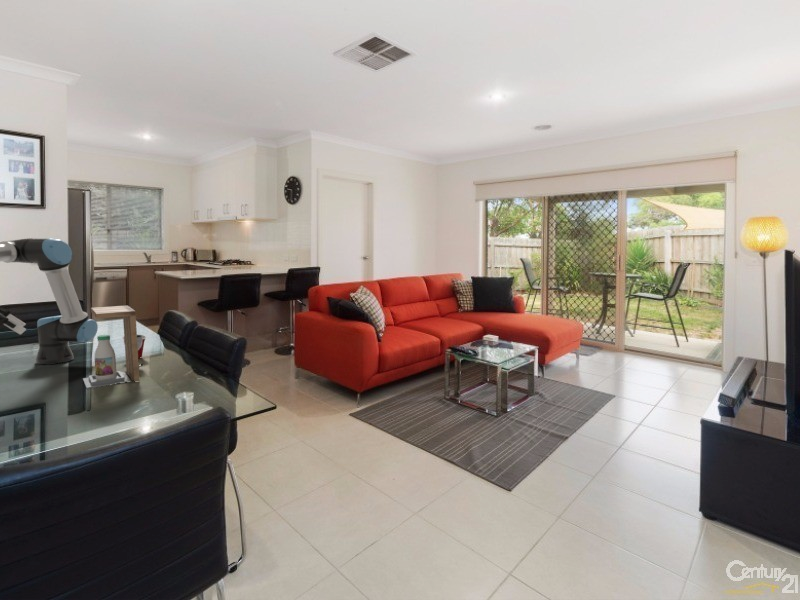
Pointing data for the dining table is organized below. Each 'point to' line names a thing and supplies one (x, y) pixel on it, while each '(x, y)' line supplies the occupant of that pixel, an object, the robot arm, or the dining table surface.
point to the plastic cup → (141, 347)
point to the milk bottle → (105, 359)
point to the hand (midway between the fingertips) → (23, 329)
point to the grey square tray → (93, 383)
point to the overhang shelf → (129, 334)
